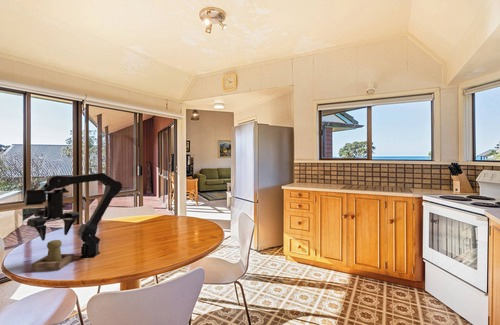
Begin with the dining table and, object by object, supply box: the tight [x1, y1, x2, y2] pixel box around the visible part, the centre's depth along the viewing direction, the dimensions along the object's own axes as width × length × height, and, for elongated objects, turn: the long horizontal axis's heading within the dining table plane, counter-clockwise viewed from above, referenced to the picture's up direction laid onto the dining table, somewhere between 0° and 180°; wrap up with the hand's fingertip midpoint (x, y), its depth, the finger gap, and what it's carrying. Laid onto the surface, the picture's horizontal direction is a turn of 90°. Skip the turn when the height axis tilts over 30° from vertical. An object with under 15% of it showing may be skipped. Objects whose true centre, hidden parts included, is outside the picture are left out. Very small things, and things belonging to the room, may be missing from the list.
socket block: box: [30, 253, 75, 272], centre depth 110 cm, size 11×11×3 cm
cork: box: [46, 239, 63, 262], centre depth 110 cm, size 6×6×11 cm
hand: (54, 237), depth 111 cm, fingers open, 9 cm apart
